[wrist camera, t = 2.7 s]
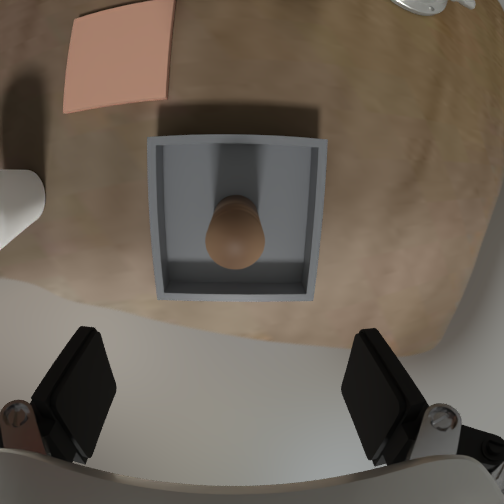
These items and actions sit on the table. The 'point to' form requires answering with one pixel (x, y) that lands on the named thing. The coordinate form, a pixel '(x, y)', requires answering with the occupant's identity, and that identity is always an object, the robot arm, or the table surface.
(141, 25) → the terracotta board
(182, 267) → the bin
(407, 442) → the robot arm
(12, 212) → the cup
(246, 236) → the walnut peg
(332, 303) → the table surface
